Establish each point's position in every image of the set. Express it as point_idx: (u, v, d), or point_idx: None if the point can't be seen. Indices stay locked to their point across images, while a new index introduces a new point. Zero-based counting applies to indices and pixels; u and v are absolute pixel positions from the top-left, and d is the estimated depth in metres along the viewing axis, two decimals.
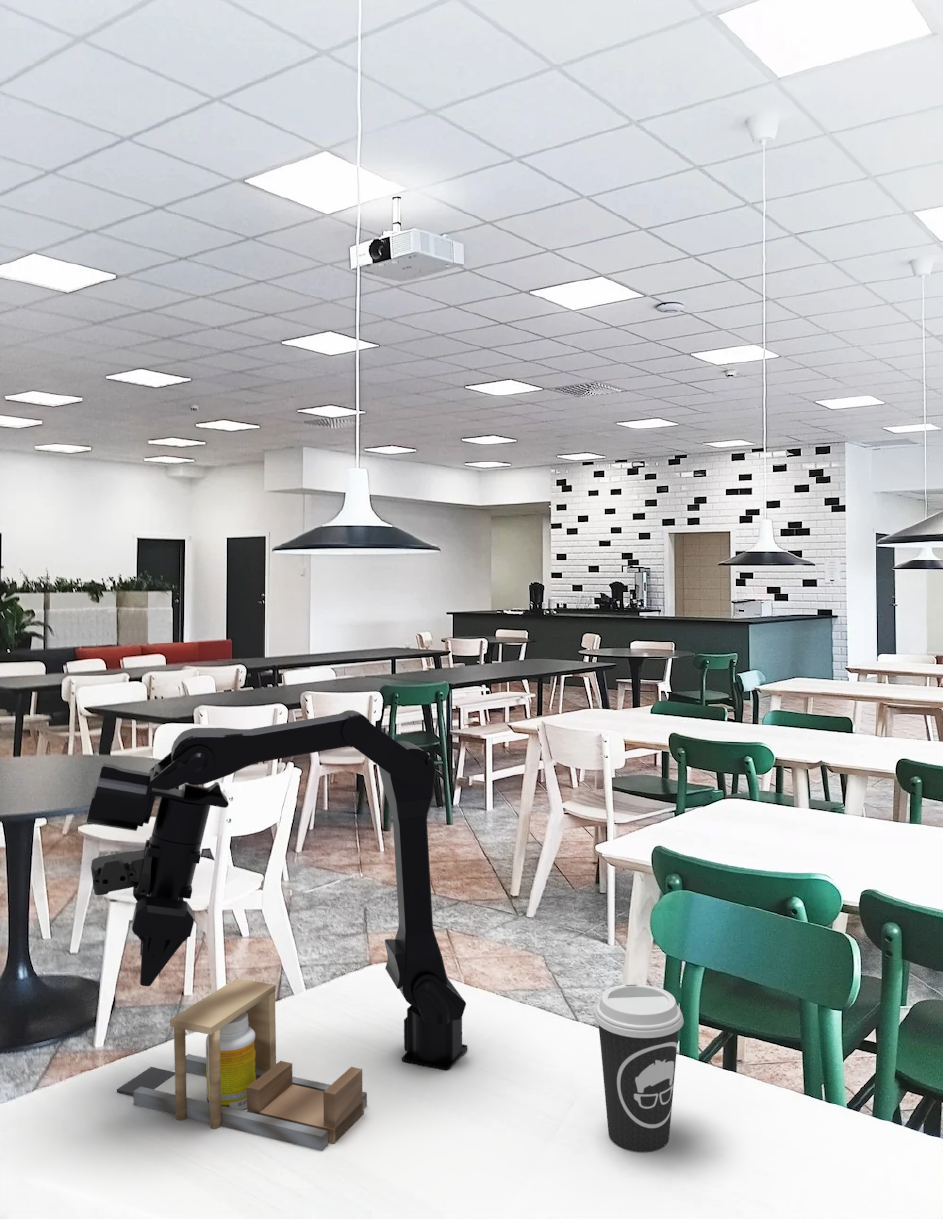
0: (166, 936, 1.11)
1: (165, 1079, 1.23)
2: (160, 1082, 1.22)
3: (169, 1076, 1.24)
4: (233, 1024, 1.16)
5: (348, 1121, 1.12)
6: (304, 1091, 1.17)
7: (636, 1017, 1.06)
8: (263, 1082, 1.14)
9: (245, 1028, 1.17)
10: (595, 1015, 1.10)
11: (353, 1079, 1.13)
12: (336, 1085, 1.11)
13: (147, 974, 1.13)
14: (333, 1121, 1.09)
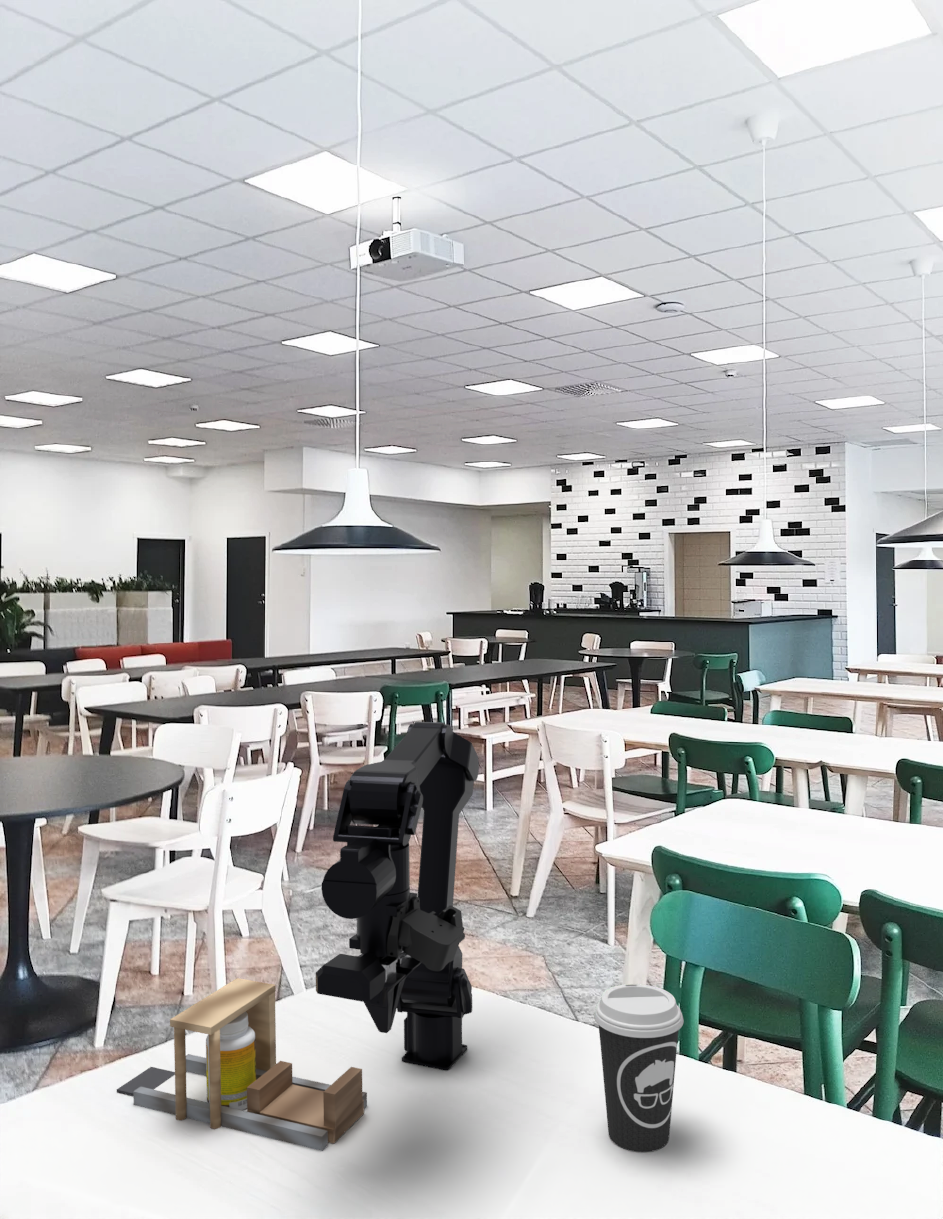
0: None
1: (165, 1079, 1.23)
2: (160, 1082, 1.22)
3: (169, 1076, 1.24)
4: (233, 1024, 1.16)
5: (348, 1121, 1.12)
6: (304, 1091, 1.17)
7: (636, 1017, 1.06)
8: (263, 1082, 1.14)
9: (245, 1028, 1.17)
10: (595, 1015, 1.10)
11: (353, 1079, 1.13)
12: (336, 1085, 1.11)
13: None
14: (333, 1121, 1.09)
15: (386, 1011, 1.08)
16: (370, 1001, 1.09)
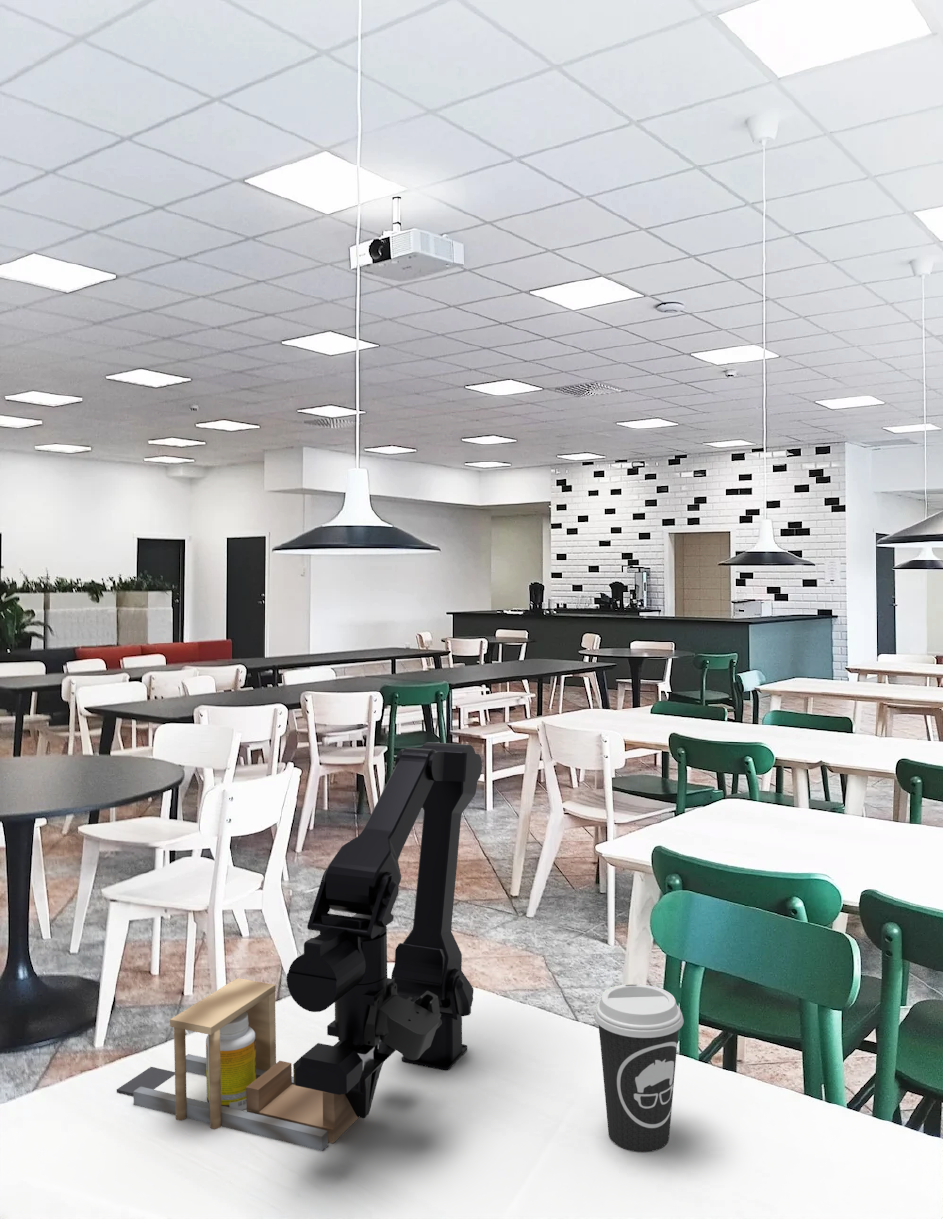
0: None
1: (165, 1079, 1.23)
2: (160, 1082, 1.22)
3: (169, 1076, 1.24)
4: (233, 1024, 1.16)
5: (347, 1121, 1.12)
6: (303, 1091, 1.17)
7: (636, 1017, 1.06)
8: (262, 1082, 1.14)
9: (245, 1028, 1.17)
10: (595, 1015, 1.10)
11: None
12: None
13: None
14: (332, 1121, 1.09)
15: (364, 1097, 1.10)
16: None
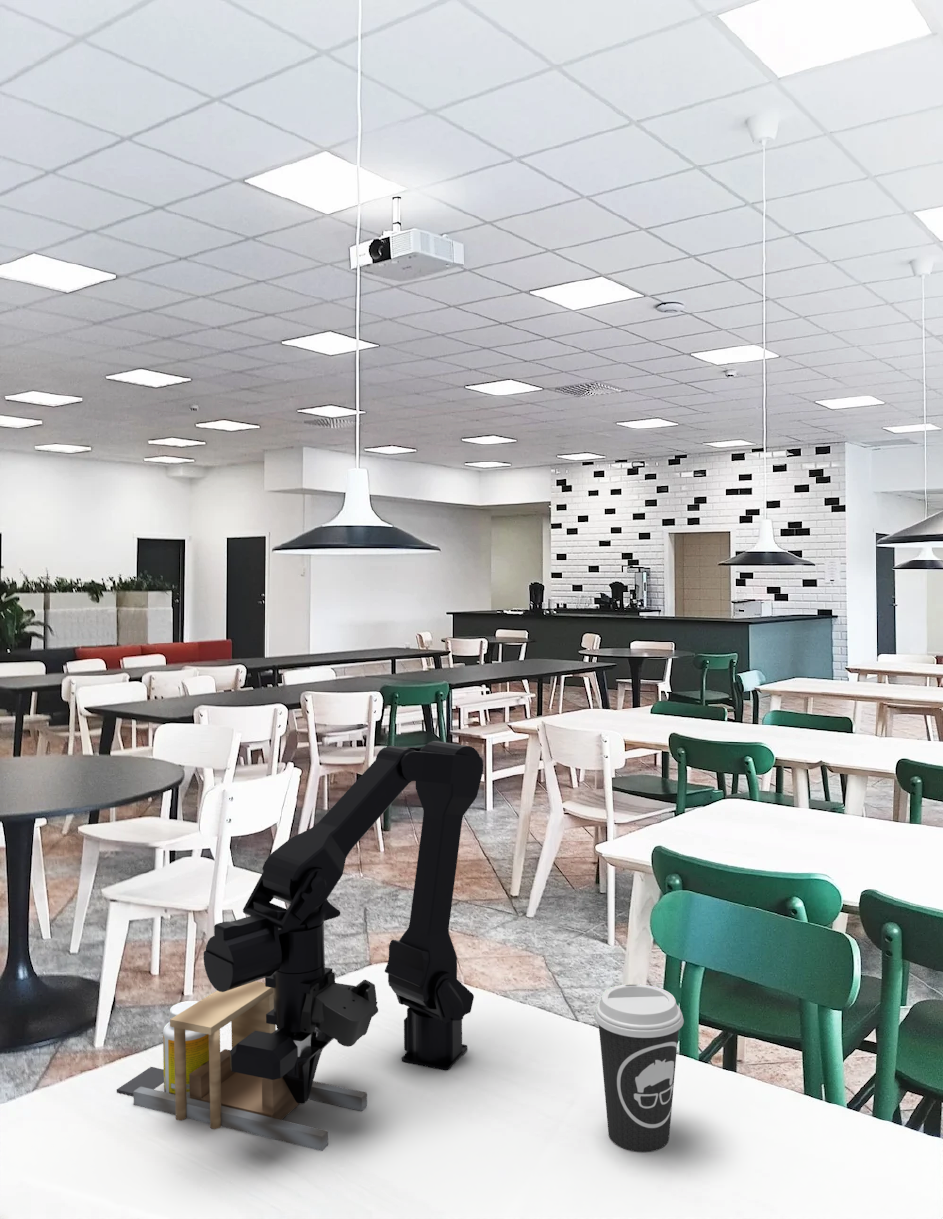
0: None
1: None
2: (160, 1082, 1.22)
3: None
4: None
5: (287, 1107, 1.15)
6: (247, 1078, 1.20)
7: (636, 1017, 1.06)
8: (206, 1069, 1.17)
9: None
10: (595, 1015, 1.10)
11: None
12: None
13: None
14: (271, 1107, 1.12)
15: (302, 1083, 1.13)
16: (287, 1074, 1.13)
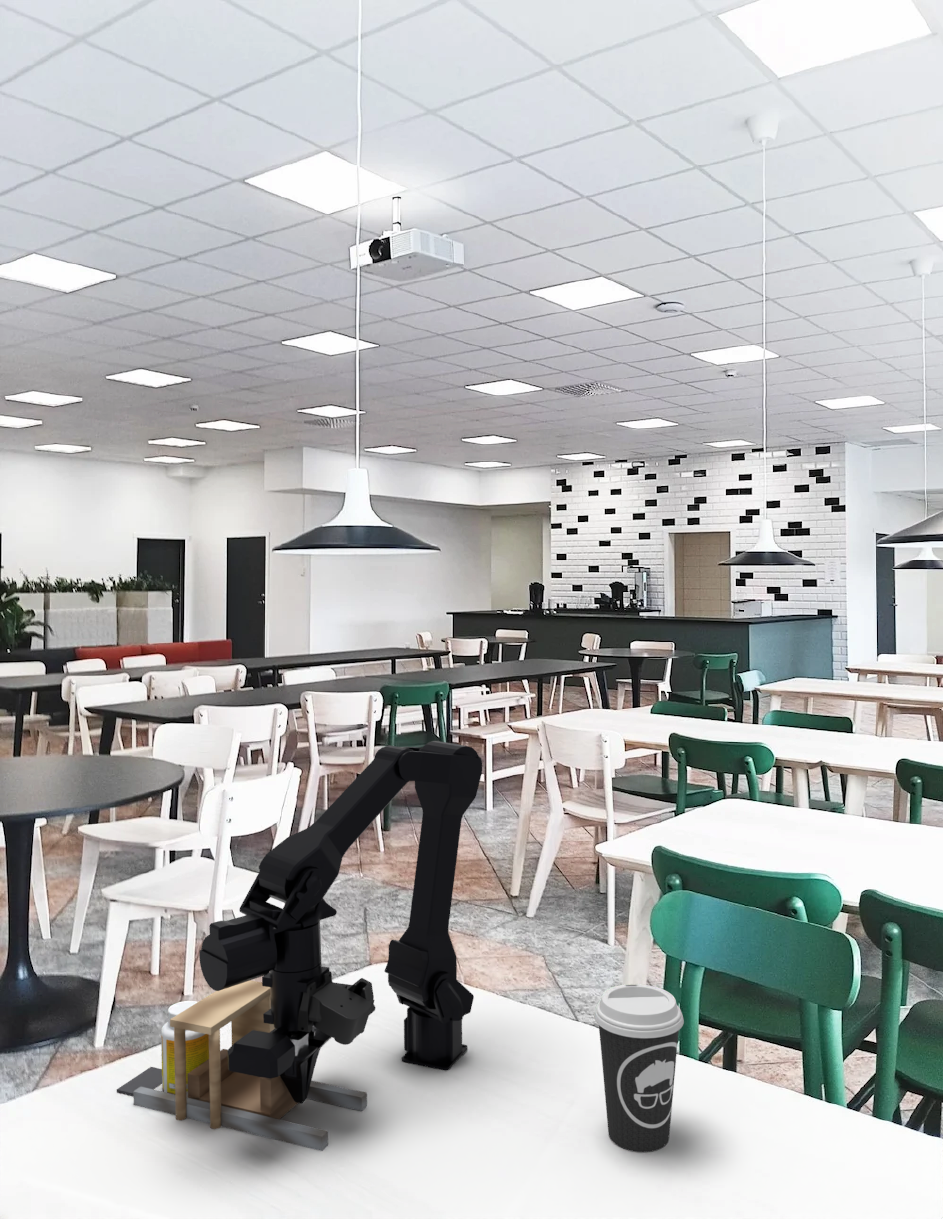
0: None
1: None
2: (160, 1082, 1.22)
3: None
4: None
5: (285, 1107, 1.15)
6: (245, 1078, 1.20)
7: (636, 1017, 1.06)
8: (204, 1069, 1.17)
9: None
10: (595, 1015, 1.10)
11: None
12: None
13: None
14: (269, 1106, 1.12)
15: (300, 1083, 1.13)
16: (285, 1073, 1.13)
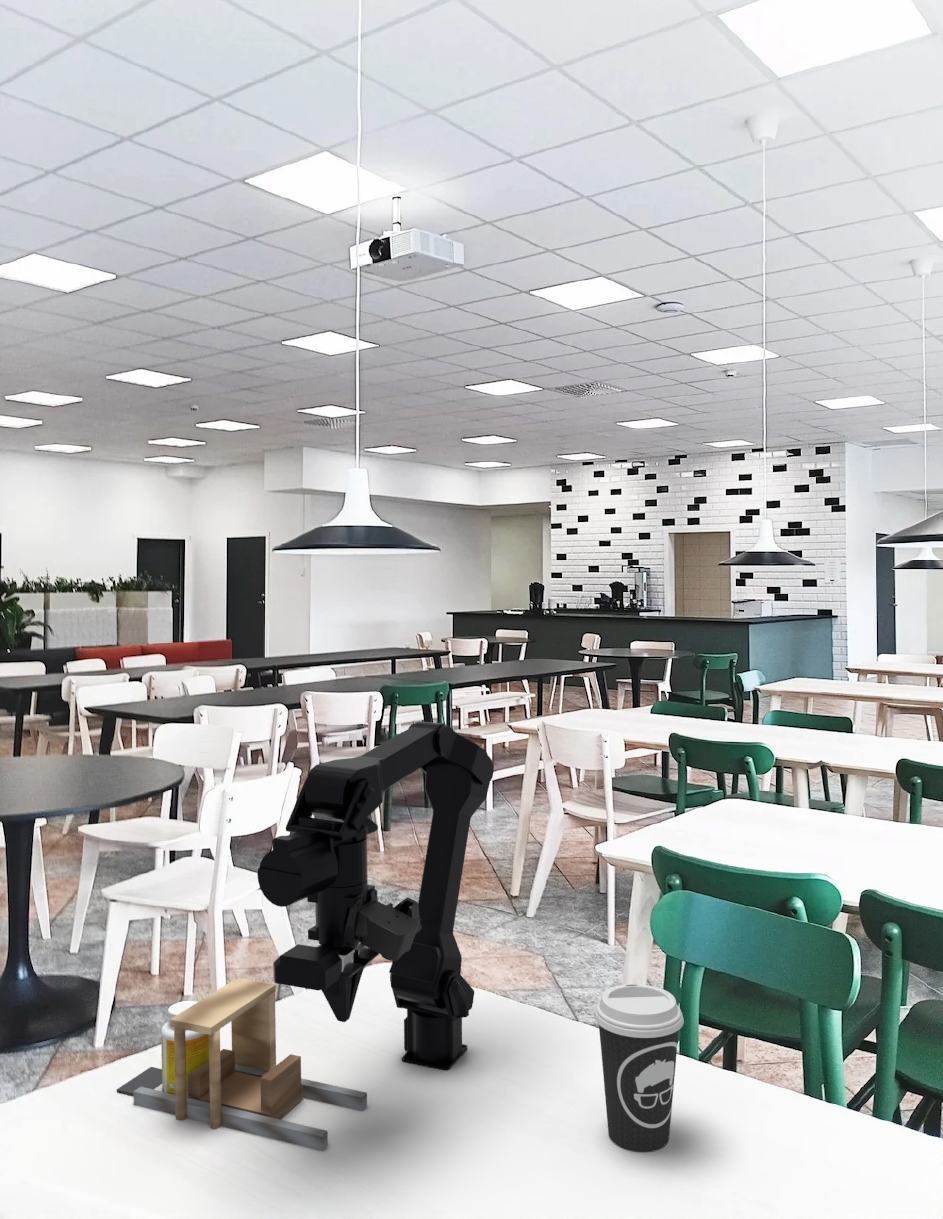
0: None
1: None
2: (160, 1082, 1.22)
3: None
4: None
5: (285, 1107, 1.15)
6: (245, 1078, 1.20)
7: (636, 1017, 1.06)
8: (204, 1069, 1.17)
9: None
10: (595, 1015, 1.10)
11: (291, 1065, 1.16)
12: (274, 1071, 1.14)
13: None
14: (270, 1106, 1.12)
15: (344, 1000, 1.11)
16: (328, 991, 1.11)
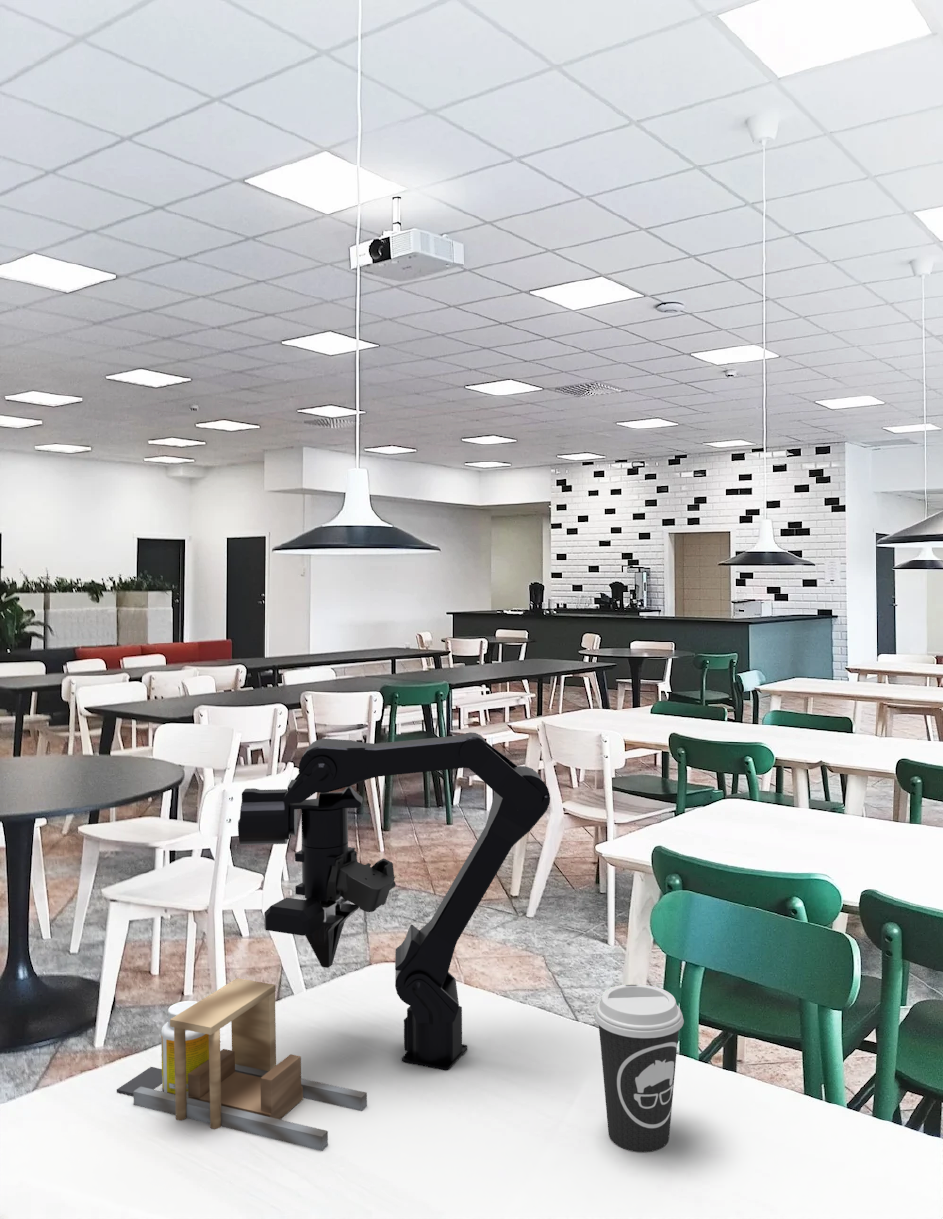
0: None
1: None
2: (160, 1082, 1.22)
3: None
4: None
5: (285, 1107, 1.15)
6: (245, 1078, 1.20)
7: (636, 1017, 1.06)
8: (204, 1069, 1.17)
9: None
10: (595, 1015, 1.10)
11: (291, 1065, 1.16)
12: (274, 1071, 1.14)
13: None
14: (270, 1106, 1.12)
15: (327, 948, 1.26)
16: (313, 940, 1.26)
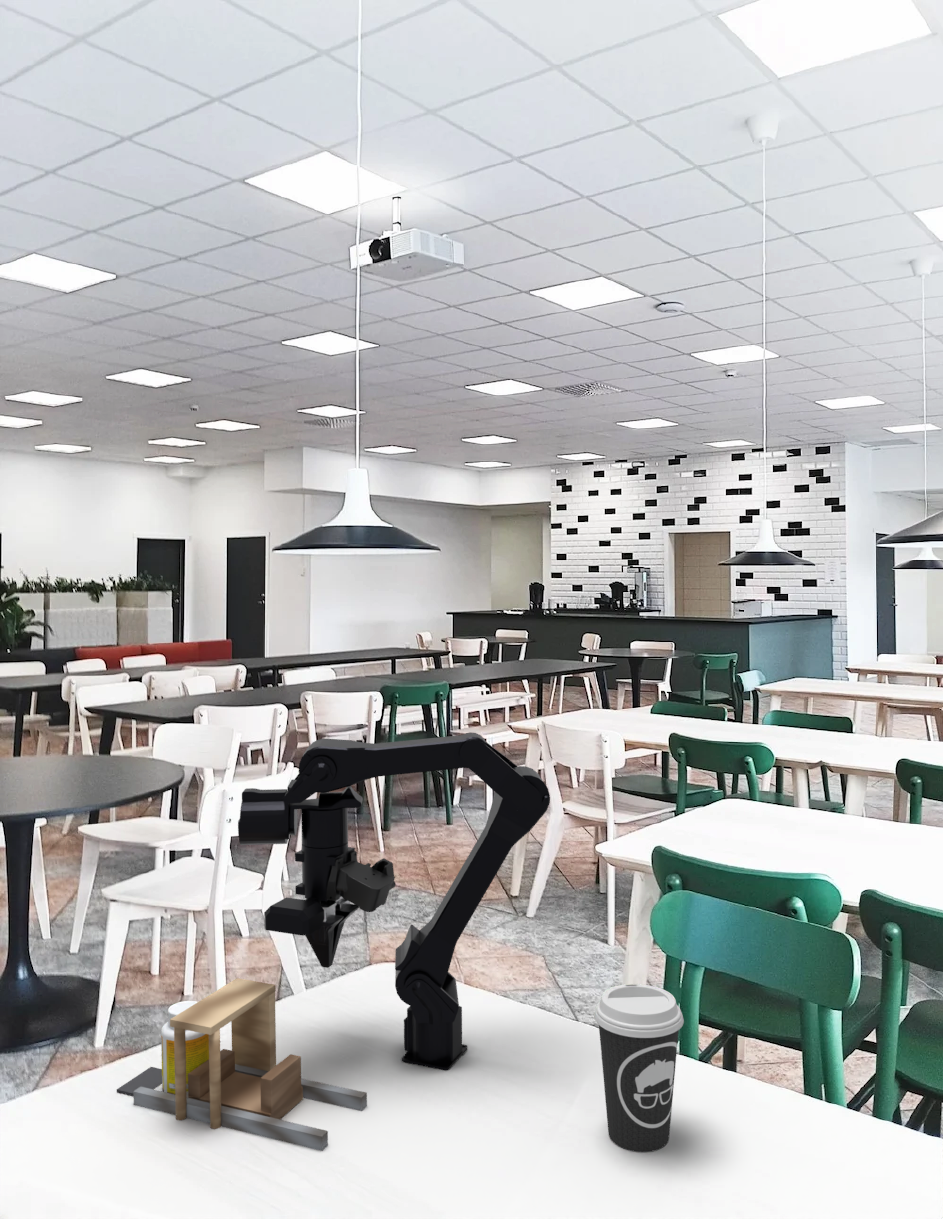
0: None
1: None
2: (160, 1082, 1.22)
3: None
4: None
5: (285, 1107, 1.15)
6: (245, 1078, 1.20)
7: (636, 1017, 1.06)
8: (204, 1069, 1.17)
9: None
10: (595, 1015, 1.10)
11: (291, 1065, 1.16)
12: (274, 1071, 1.14)
13: None
14: (270, 1106, 1.12)
15: (327, 948, 1.26)
16: (313, 940, 1.26)
